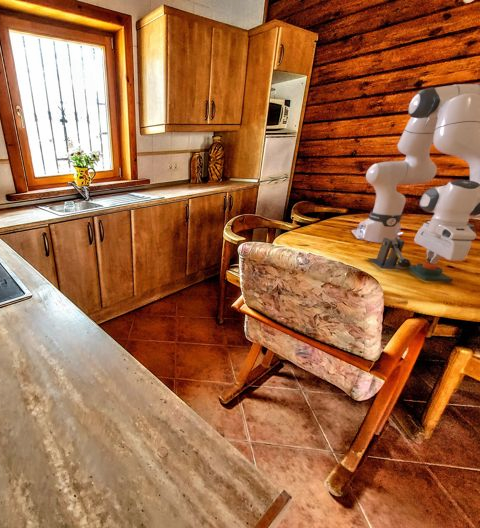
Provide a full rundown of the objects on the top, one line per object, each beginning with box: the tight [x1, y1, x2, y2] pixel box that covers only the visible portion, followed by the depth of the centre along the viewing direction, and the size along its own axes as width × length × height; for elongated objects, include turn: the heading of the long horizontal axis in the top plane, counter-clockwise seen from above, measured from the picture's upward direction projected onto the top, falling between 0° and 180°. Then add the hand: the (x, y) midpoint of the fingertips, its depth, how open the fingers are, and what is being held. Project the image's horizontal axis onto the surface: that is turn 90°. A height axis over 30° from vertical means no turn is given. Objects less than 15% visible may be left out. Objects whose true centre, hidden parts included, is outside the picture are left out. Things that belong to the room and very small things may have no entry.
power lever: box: [389, 239, 412, 269], centre depth 110 cm, size 14×4×4 cm, turn 165°
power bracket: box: [368, 237, 405, 270], centre depth 115 cm, size 10×8×12 cm
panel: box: [405, 263, 454, 283], centre depth 107 cm, size 12×8×4 cm, turn 165°
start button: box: [422, 261, 439, 270], centre depth 106 cm, size 4×4×2 cm
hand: (430, 262), depth 105 cm, fingers closed
